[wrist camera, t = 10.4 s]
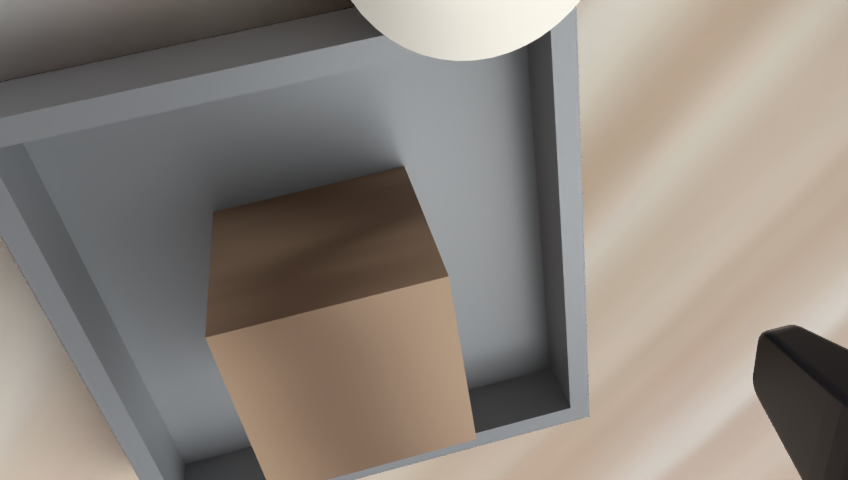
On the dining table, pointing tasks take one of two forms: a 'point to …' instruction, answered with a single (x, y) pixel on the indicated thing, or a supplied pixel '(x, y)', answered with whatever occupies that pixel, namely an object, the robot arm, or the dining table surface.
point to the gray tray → (283, 174)
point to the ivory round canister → (464, 24)
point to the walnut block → (336, 328)
